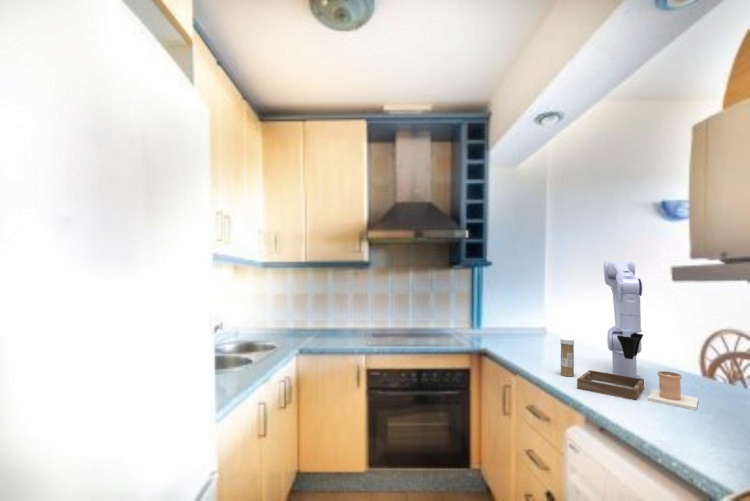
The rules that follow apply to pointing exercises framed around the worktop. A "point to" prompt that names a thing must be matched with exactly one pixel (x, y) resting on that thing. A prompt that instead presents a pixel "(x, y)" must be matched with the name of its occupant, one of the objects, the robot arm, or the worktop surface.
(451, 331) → the worktop surface
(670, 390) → the terracotta pot
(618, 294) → the robot arm
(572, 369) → the sprinkles bottle
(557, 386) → the worktop surface
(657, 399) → the ceramic tile
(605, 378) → the box
